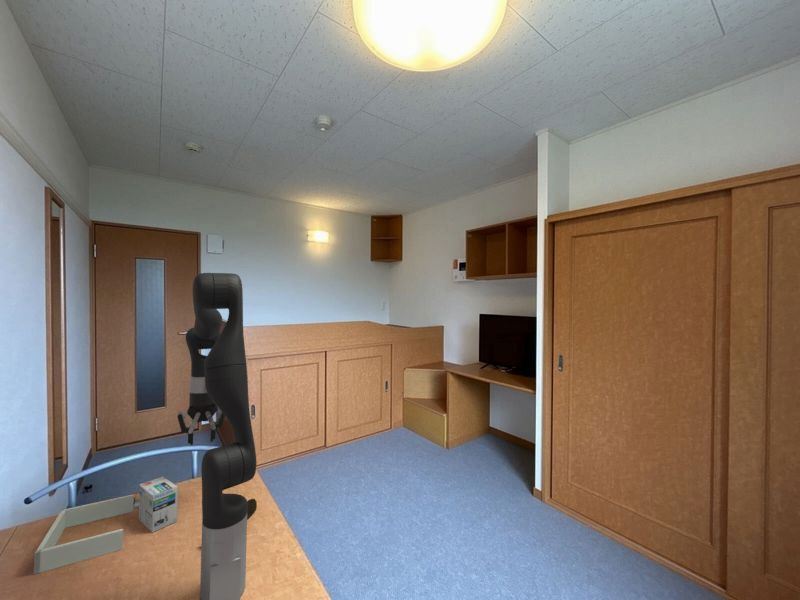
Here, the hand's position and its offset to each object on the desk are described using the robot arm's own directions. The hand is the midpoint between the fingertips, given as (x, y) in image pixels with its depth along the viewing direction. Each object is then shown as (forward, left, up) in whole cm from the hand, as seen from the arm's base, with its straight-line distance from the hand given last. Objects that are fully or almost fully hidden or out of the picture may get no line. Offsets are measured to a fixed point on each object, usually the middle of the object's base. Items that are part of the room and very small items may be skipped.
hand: (201, 442), depth 108 cm
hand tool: (-14, -8, -22) cm, 27 cm away
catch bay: (0, +26, -21) cm, 34 cm away
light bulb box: (0, +11, -22) cm, 24 cm away
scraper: (+13, +24, -21) cm, 35 cm away
